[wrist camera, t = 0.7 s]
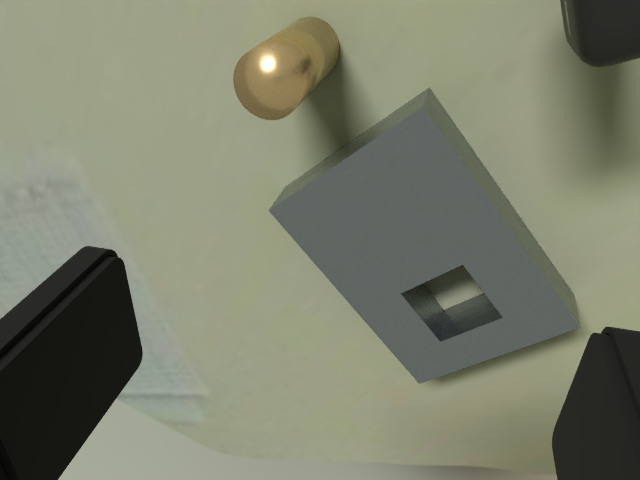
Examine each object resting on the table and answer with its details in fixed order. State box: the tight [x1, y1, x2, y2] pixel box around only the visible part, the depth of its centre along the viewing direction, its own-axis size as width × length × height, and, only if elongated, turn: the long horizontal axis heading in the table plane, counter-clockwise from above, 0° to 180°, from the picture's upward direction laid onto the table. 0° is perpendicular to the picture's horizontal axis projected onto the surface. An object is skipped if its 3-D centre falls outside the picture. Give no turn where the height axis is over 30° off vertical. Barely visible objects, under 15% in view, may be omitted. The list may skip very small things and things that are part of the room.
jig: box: [269, 88, 580, 384], centre depth 41 cm, size 14×20×4 cm
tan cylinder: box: [233, 17, 340, 120], centre depth 33 cm, size 4×4×9 cm
